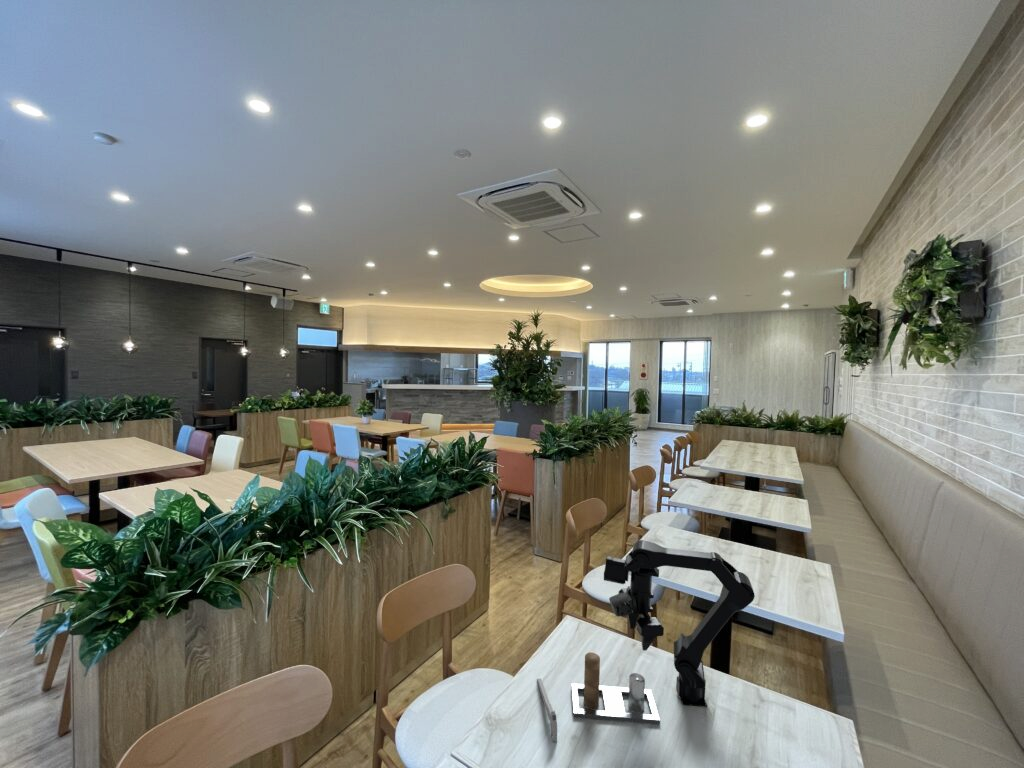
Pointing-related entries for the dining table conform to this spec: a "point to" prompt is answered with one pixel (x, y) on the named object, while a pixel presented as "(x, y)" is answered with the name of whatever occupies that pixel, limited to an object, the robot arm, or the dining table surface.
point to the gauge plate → (614, 706)
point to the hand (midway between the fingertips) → (638, 639)
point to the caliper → (549, 710)
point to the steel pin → (636, 692)
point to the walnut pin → (591, 680)
